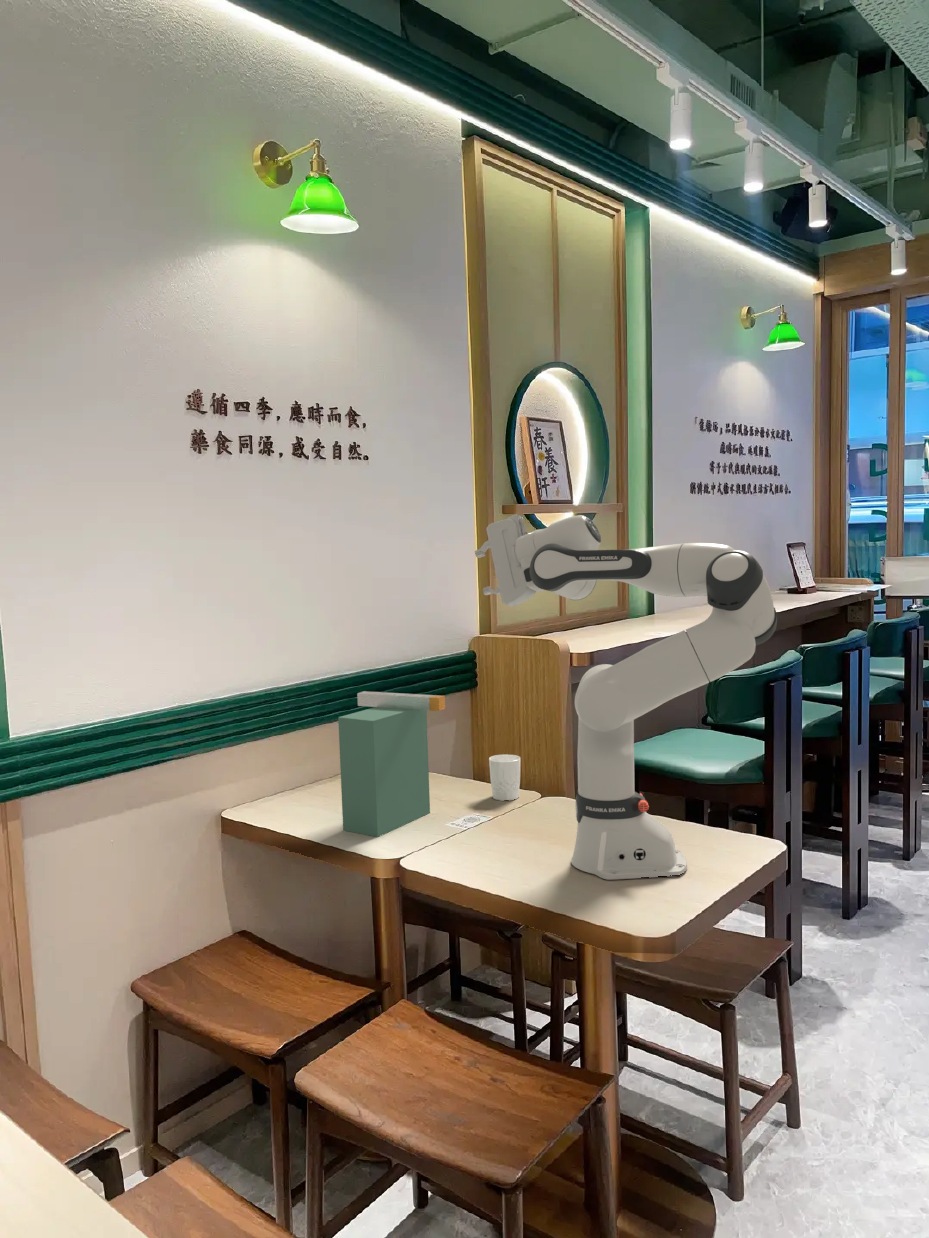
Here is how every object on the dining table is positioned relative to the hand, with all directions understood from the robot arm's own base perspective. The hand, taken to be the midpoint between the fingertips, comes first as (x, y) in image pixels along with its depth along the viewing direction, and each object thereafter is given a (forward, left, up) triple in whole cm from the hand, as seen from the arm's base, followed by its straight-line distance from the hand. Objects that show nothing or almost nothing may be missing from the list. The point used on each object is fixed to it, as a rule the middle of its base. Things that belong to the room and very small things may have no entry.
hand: (480, 573), depth 218 cm
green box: (+22, +10, -57) cm, 62 cm away
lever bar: (+19, +5, -31) cm, 37 cm away
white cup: (-4, -11, -57) cm, 58 cm away
